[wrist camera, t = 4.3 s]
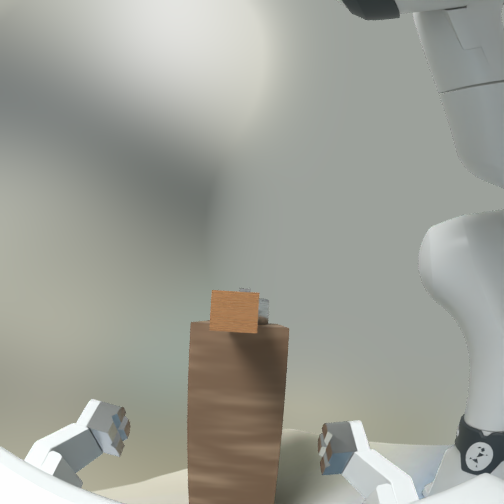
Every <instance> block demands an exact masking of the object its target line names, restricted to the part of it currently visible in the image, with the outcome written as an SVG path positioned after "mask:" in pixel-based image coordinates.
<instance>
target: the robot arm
mask: <svg viewBox="0 0 504 504" xmlns="http://www.w3.org/2000/svg"><path fill="white" fill-rule="evenodd" d="M336 1H338V2H339V3H340V4H342V5H343V6H345V7H346V8H348V9H349V11H350V12H351V13H352V14H354V15H357V16H359V17H361V18H363V19H365V20H384V19H393V18H399V17H400V14H404V13H413V18H414V23H415V26H416V29H417V32H418V36H419V38H420V42H421V44H422V48H423V51H424V54H425V57H426V59H427V63H428V65H429V68H430V71H431V74H432V77H433V80H434V83H435V85H436V88H437V91H438V93H444V92H448V93H444V94H441V95H439V96H440V99H441V102H442V105H443V108H444V111H445V114H446V116H447V120H448V123H449V126H450V130H451V133H452V137H453V140H454V144H455V148H456V152H457V155H458V157H459V159H460V161H461V163H462V164H463V165H464V167H465V168H466V169H467V170H468V171H469V172H470V173H472V174H473V175H475V176H477V177H478V178H480V179H482V180H484V181H486V182H488V183H491V184H493V185H496V186H499V187H501V188H504V28H503V25H502V17H501V13H502V6H503V4H504V0H336ZM456 90H457V91H456ZM451 91H452V92H451ZM418 265H419V274H420V278H421V281H422V283H423V286H424V288H425V290H426V291H427V293H428V294H429V295H430V297H431V298H432V299H433V300H434V301H436V303H438V304H439V305H441V306H442V307H443V308H444V309H445V310H446V311H447V312H448V313H449V314H450V315H451V316H452V317H453V318H454V320H455V321H456V323H457V324H458V326H459V327H460V329H461V331H462V333H463V335H464V338H465V341H466V344H467V348H468V353H469V363H470V374H469V389H468V397H467V404H466V409H465V414H464V415H463V416H462V417H461V420H460V424H459V426H458V429H457V435H456V439H455V444H454V445H453V446H451V447H450V448H448V449H447V450H446V451H445V453H444V456H443V458H442V461H441V464H440V466H439V469H438V471H437V474H436V476H435V479H434V481H433V482H431V483H429V484H427V485H426V486H425V487H424V489H423V491H422V493H423V495H424V497H425V498H422V499H419V498H418V495H417V493H416V490H415V487H414V484H413V481H412V478H411V476H409V475H408V474H406V473H405V472H404V471H402V470H401V469H400V468H398V467H397V466H395V465H394V464H393V463H391V462H390V461H389V460H387V459H386V458H385V457H383V456H382V455H381V454H379V453H378V452H377V451H376V450H374V449H371V450H370V446H369V443H368V440H367V437H366V434H365V431H364V428H363V425H362V422H361V421H360V420H357V421H349V422H347V421H344V422H334V423H325V424H324V425H323V427H322V431H323V433H322V434H320V436H319V439H318V453H319V455H320V456H321V457H322V459H321V462H320V466H321V472H322V475H331V474H342V475H343V476H344V477H345V479H346V480H347V481H348V482H349V483H350V484H351V485H352V486H353V487H354V488H355V489H356V490H357V491H358V492H359V493H360V494H361V495H362V496H363V497H364V498H365V499H366V500H365V501H364V502H363V503H362V504H504V209H503V210H496V211H489V212H482V213H475V214H468V215H461V216H458V217H455V218H453V219H450V220H447V221H445V222H442V223H440V224H437V225H435V226H432V227H430V228H429V230H428V231H427V233H426V235H425V236H424V239H423V241H422V243H421V246H420V251H419V258H418ZM125 413H126V411H125V409H124V407H120V406H116V405H112V404H109V403H105V402H102V401H98V400H94V399H92V400H90V401H89V402H88V404H87V406H86V407H85V409H84V411H83V413H82V414H81V416H80V418H79V419H78V421H77V423H76V424H75V423H72V424H70V425H68V426H66V427H64V428H62V429H60V430H58V431H56V432H54V433H52V434H50V435H48V436H46V437H44V438H42V439H40V440H38V441H36V442H35V443H34V445H33V447H32V448H31V450H30V451H29V453H28V455H27V456H26V458H25V460H22V459H21V458H19V457H17V456H16V455H14V454H12V453H10V452H9V451H7V450H6V449H4V448H3V447H1V446H0V504H125V503H121V502H118V501H115V500H112V499H109V498H106V497H103V496H100V495H97V494H95V493H92V492H89V491H87V490H84V489H82V488H81V486H82V484H83V482H82V480H81V479H80V478H79V477H78V476H77V474H76V472H78V471H79V470H81V469H82V468H83V467H85V466H86V465H88V464H89V463H90V462H92V461H93V460H94V459H96V458H97V457H98V456H100V455H101V454H102V453H103V452H104V453H108V454H111V455H115V456H119V457H120V455H121V453H122V451H123V448H124V443H123V441H124V440H125V439H127V438H128V436H129V433H130V422H129V420H128V418H127V417H126V416H125Z"/></svg>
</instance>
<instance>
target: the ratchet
mask: <svg viewBox="0 0 504 504" xmlns="http://www.w3.org/2000/svg"><path fill="white" fill-rule="evenodd" d="M268 316H269V300H268V299H259V293H251V292H250V289H244V288H240V290H239V292H233V291H218V290H212V297H211V313H210V330H212V331H225V332H240V333H257V326H258V325H268Z"/></svg>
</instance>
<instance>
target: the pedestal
mask: <svg viewBox="0 0 504 504" xmlns="http://www.w3.org/2000/svg"><path fill="white" fill-rule="evenodd" d="M288 340H289V328H287V327H284V326H281V325H278V324H268V325H258V326H257V333H240V332H225V331H212V330H210V320H209V321H199V322H191V329H190V349H189V372H188V415H187V417H188V419H187V433H188V434H187V439H188V440H187V441H188V442H187V444H188V445H187V447H188V448H187V450H188V491H189V504H274V499H275V491H276V483H277V474H278V465H279V455H280V445H281V435H282V423H283V412H284V400H285V387H286V373H287V356H288Z"/></svg>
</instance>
